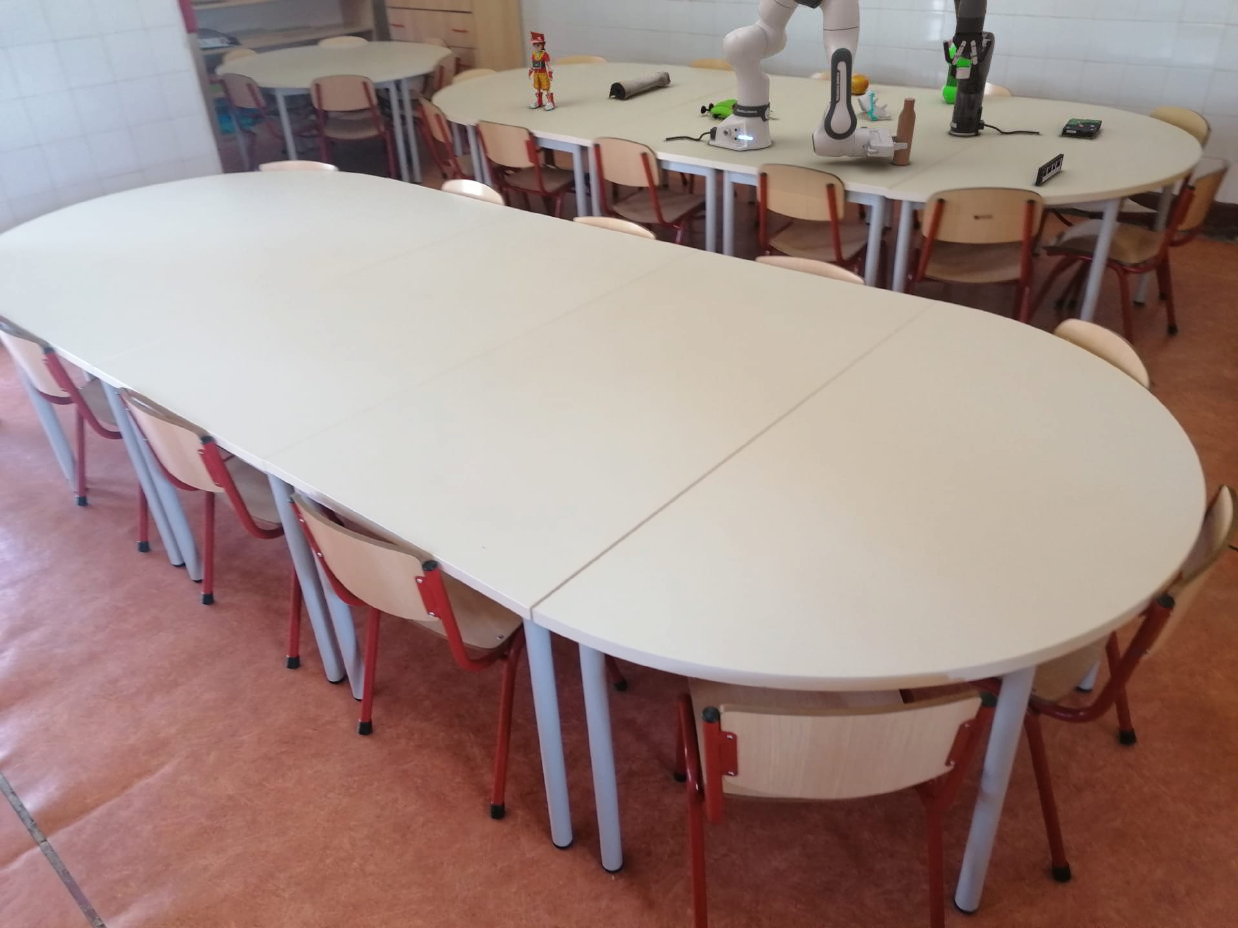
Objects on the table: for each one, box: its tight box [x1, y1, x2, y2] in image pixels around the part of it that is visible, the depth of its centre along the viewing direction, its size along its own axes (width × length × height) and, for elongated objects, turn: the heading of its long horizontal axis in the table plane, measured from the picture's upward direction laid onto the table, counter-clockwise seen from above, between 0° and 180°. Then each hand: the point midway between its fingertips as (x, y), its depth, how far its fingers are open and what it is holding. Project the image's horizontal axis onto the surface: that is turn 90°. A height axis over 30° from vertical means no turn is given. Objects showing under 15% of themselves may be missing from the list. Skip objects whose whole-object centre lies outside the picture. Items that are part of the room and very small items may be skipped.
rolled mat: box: [608, 71, 672, 101], centre depth 395 cm, size 30×9×10 cm
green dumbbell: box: [942, 45, 972, 104], centre depth 348 cm, size 10×10×25 cm
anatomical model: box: [857, 89, 892, 121], centre depth 341 cm, size 15×10×10 cm
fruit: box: [851, 74, 870, 95], centre depth 372 cm, size 8×8×8 cm
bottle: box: [892, 97, 917, 166], centre depth 289 cm, size 5×5×20 cm
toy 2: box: [700, 99, 777, 120], centre depth 353 cm, size 28×5×30 cm
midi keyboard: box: [1035, 153, 1065, 186], centre depth 273 cm, size 18×1×5 cm, turn 138°
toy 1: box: [527, 31, 556, 111], centre depth 374 cm, size 12×9×30 cm
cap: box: [955, 67, 971, 79], centre depth 266 cm, size 4×4×2 cm
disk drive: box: [1061, 117, 1103, 139], centre depth 311 cm, size 10×3×15 cm
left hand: (906, 142), depth 291 cm, fingers closed on bottle, 5 cm apart
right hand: (961, 77), depth 267 cm, fingers closed on cap, 4 cm apart
